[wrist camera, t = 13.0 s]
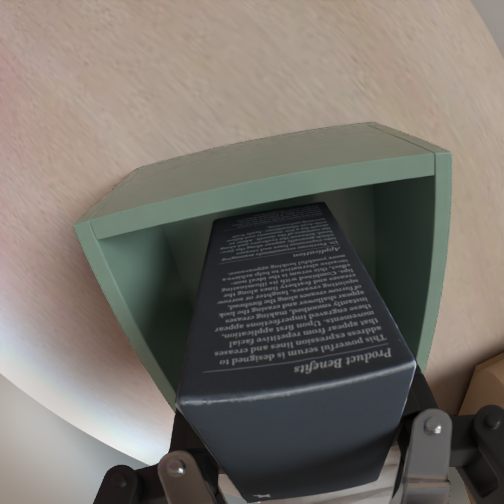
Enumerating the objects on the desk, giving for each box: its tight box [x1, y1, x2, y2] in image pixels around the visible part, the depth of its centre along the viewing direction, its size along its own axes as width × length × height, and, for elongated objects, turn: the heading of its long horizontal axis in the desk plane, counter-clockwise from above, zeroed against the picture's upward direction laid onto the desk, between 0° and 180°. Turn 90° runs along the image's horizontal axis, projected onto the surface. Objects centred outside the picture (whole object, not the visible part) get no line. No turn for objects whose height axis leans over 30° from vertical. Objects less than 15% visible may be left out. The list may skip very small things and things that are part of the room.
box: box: [175, 202, 416, 503], centre depth 13 cm, size 8×6×11 cm
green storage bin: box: [73, 122, 452, 414], centre depth 16 cm, size 14×14×8 cm
